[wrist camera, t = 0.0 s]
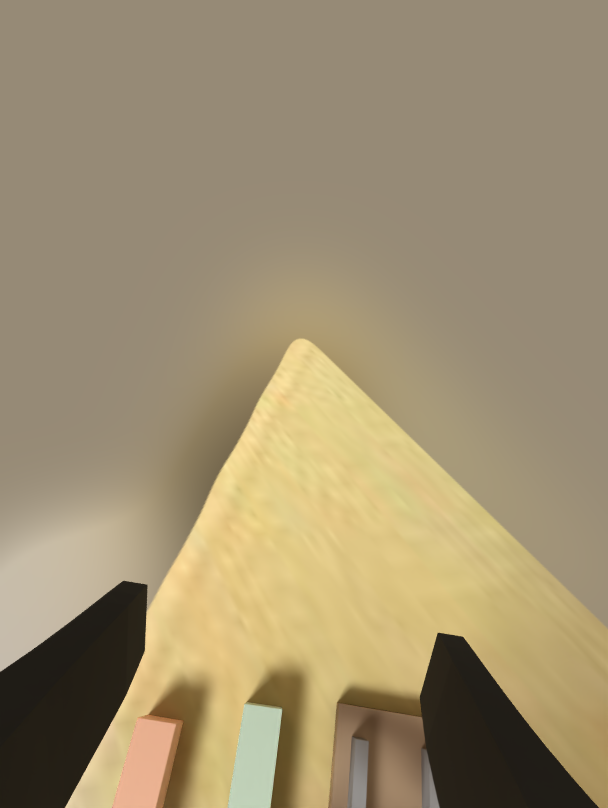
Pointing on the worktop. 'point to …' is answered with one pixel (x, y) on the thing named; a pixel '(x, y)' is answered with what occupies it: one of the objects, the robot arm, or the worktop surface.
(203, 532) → the worktop surface
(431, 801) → the cradle
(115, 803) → the bar
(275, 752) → the block
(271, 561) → the worktop surface
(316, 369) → the worktop surface
